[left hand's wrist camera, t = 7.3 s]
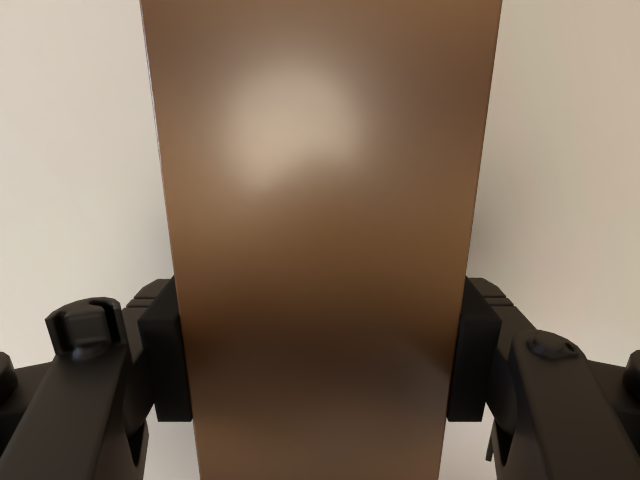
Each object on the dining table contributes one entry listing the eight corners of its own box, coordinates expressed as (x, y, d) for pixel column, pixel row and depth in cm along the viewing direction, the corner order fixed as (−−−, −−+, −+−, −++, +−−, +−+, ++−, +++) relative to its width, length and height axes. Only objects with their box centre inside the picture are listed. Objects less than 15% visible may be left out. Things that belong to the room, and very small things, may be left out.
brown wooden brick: (220, -267, 11) (-15, -1184, 3) (421, -265, 11) (663, -1173, 3) (254, 320, 17) (199, 488, 9) (384, 320, 17) (438, 488, 9)
